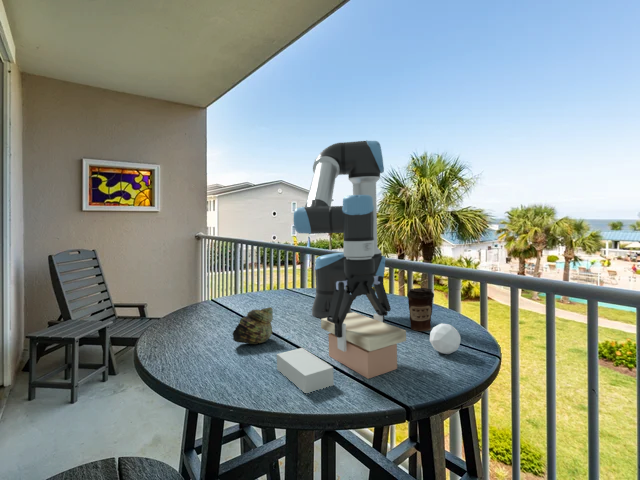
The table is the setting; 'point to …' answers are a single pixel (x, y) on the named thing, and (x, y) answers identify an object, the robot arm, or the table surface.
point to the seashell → (254, 327)
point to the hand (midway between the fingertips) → (360, 344)
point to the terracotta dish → (364, 358)
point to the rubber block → (305, 370)
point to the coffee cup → (420, 308)
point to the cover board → (367, 332)
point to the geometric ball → (445, 338)
